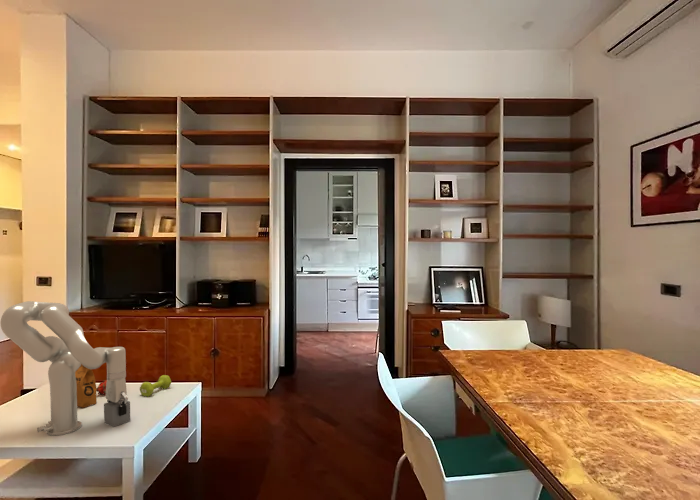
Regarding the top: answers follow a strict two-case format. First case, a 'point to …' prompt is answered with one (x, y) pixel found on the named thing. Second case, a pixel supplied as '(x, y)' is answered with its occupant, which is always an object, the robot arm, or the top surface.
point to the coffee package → (85, 387)
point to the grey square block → (115, 414)
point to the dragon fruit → (102, 388)
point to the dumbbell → (155, 385)
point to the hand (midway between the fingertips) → (117, 412)
